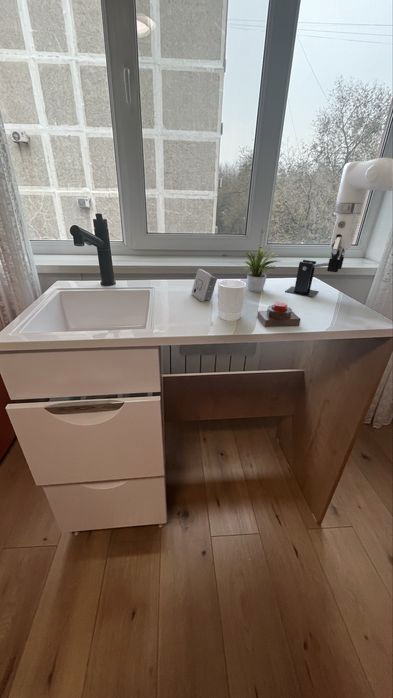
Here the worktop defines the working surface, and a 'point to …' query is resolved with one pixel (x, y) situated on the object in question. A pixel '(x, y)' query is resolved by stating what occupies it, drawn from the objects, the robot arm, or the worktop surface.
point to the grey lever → (320, 264)
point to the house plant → (258, 270)
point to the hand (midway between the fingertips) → (334, 269)
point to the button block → (278, 318)
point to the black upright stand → (304, 280)
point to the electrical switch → (203, 285)
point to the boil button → (280, 306)
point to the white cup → (230, 299)
